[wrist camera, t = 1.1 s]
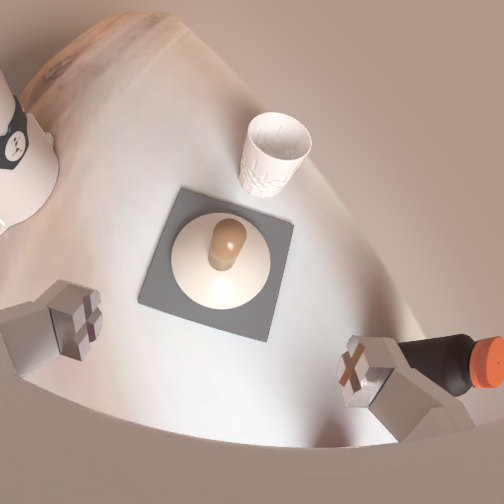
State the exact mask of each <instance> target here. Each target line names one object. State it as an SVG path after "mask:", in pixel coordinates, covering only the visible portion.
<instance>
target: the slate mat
mask: <svg viewBox="0 0 504 504" xmlns="http://www.w3.org/2000/svg"><path fill="white" fill-rule="evenodd" d="M211 213H228V214H232V215H236V216H238V217H241V218H243V219H245V220H247V221H248V222H249V223H251V224H252V225H253V226H254V227H255V228H256V229H257V230H258V231H259V232H260V233H261V235H262V236H263V238H264V239H265V241H266V243H267V246H268V249H269V253H270V271H269V275H268V278H267V281H266V283H265V285H264V286H263V288H262V289H261V291H260V292H259V293H258V294H257V295H256V296H255V297H254V298H252V299H251V300H250V301H248V302H247V303H245V304H243V305H241V306H239V307H236V308H233V309H227V310H216V309H210V308H206V307H204V306H201V305H199V304H197V303H195V302H194V301H192V300H191V299H190V298H188V297H187V296H186V295H185V294H184V293H183V291H182V290H181V289H180V287H179V286H178V284H177V282H176V280H175V277H174V274H173V270H172V264H171V254H172V248H173V245H174V242H175V240H176V238H177V236H178V234H179V233H180V232H181V230H182V229H183V228H184V227H185V226H186V225H187V224H188V223H190V222H191V221H192V220H194V219H196V218H198V217H200V216H203V215H206V214H211ZM293 228H294V225H292V224H289V223H287V222H284V221H281V220H278V219H275V218H272V217H269V216H266V215H263V214H260V213H257V212H254V211H251V210H248V209H245V208H242V207H238V206H235V205H232V204H229V203H226V202H223V201H220V200H217V199H213V198H210V197H207V196H204V195H201V194H197V193H194V192H191V191H187V190H184V189H181V191H180V193H179V196H178V198H177V200H176V203H175V205H174V207H173V210H172V212H171V214H170V217H169V219H168V222H167V224H166V227H165V229H164V232H163V234H162V237H161V239H160V242H159V245H158V247H157V250H156V252H155V255H154V258H153V260H152V263H151V266H150V269H149V271H148V274H147V277H146V280H145V283H144V285H143V288H142V291H141V294H140V297H139V300H138V303H140V304H143V305H145V306H148V307H151V308H154V309H157V310H160V311H163V312H166V313H169V314H172V315H175V316H178V317H181V318H184V319H187V320H190V321H193V322H196V323H200V324H203V325H206V326H209V327H213V328H216V329H219V330H223V331H226V332H230V333H233V334H237V335H240V336H244V337H248V338H251V339H255V340H259V341H263V342H267V338H268V334H269V330H270V326H271V322H272V318H273V314H274V310H275V306H276V302H277V298H278V294H279V289H280V285H281V281H282V277H283V272H284V268H285V264H286V259H287V255H288V250H289V246H290V242H291V237H292V232H293Z"/></svg>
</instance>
